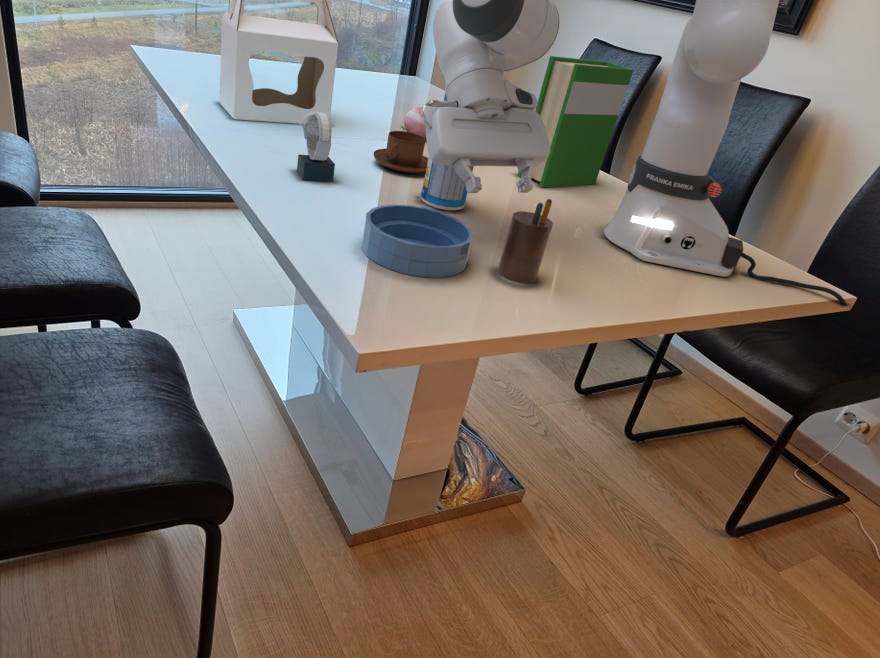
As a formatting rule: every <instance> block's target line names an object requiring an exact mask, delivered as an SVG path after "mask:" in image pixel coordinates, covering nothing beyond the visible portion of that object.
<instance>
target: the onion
mask: <svg viewBox="0 0 880 658" xmlns="http://www.w3.org/2000/svg"><path fill="white" fill-rule="evenodd" d="M423 107H424V106H418V107H414V108H412V109H410V110H409V111H408V112H407V113H406V114H405V115H404V119H403V125H404V126H403V125H401V126H400V128H401V129H403V131H405V132H410V133H414V134H417V135H420V136H422V137H424V138H425V139H426V125H425V123H424V119H423V115H422V109H423Z"/></svg>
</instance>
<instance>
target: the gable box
mask: <svg viewBox="0 0 880 658" xmlns="http://www.w3.org/2000/svg"><path fill="white" fill-rule="evenodd" d="M245 1H246V0H229V1H228V5H227V8H226V10H225V12H224V14H223V16H222V18H221V39H220V40H221V41H220V42H221V43H220V72H219V74H220V76H219V80H220V81H219V104H220V105H221V106H222V107H223V109H224V110H225V111H226V112H227V113H228V114H229V115H230V117H231V118H232V119H233V120H234V121H235V120H236V121H253V122H268V123H281V124H297V125H298V124H299V125H300V122H301V121H302V120H303V118H304V117H305V116H306V115H307V114H309V113H311V112H322V113H327V114H329V116H330V117H331V113H332V111H331V110H332V103H333V96H334V95H333V93H334V85H335V84H334V83H335V77H336V69H337V68H336V67H337V59H338V52H339V51H338V50H339V40H338V37H337V32H336V30H335V26H334V22H333V19H332V0H290V1H292V2H297V3H306V4H310V5H312V6H313V5H315V6H316V10H317V13H316V14H317V15H316V23H309V22H303V21H297V20H295V21H294V20H288V19H281V18H273V17H265V16H258V15H251V14H245ZM259 51H268V52H269V51H270V52H274V53H275V52H276V53H279V54H282V55H284V56H288V57H293V58H303V61H302V64H301V66H300V69H299V71H298V74H297V87H296V91H295V93H292V94H287V93H284V92H282V91H280V90H277V89H275V88H269V87H268V88H266V87H265V88H264V87H261V88H256V89H254V80H253V76H252V72H251V68H250V58H251V56H252V54H254V53H256V52H259Z"/></svg>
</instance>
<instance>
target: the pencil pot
mask: <svg viewBox="0 0 880 658" xmlns="http://www.w3.org/2000/svg"><path fill="white" fill-rule="evenodd" d="M552 204H553V200H552V199H551V198H547V199H546V201H545V203H544V204H543V202H538V203H537V204H536V207H535V210H534V212H531V211H524V210H523V211H521V210H520V211H515V212H513V214H512V216H511V221H510V225H509V227H508V232H507V235H506V238H505V242H504V244H503V245H504V246H503V249H502V253H501V256H500V257H501V258H500V260H499V263H498V267H497V273H498V274H499V275H500V276H501V277H502V278H504V279H506V280H508V281H511V282H515V283H518V284H532V283H534V282H536V280H537V277H538V274H539V271H540V268H541V264H542V261H543V257H544V255H545V252H546V248H547V245H548V242H549V238H550V235H551V233H552V229H553V225H554V223H553V221H552V220H551V219H550V218H548V217H549V215H550V214H549V213H550V210H551V206H552Z"/></svg>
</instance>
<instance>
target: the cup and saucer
mask: <svg viewBox="0 0 880 658" xmlns="http://www.w3.org/2000/svg"><path fill="white" fill-rule="evenodd" d="M387 135H388V136H387V144H386V148H379V149H376V150H374V151H373V158H374V159H375V160H376V162H377V163H379V164H380V165H381V166H383V167H385V168H388V169H391V170H393V171H397V172H400V173H409V174H419V173H424V172H425V173H426V169H427V164H428V158H429V157H427V156H424V150H425V145H426V142H427V140H426V139H425V138H424V137H422V136H420V135H417V134H414V133H410V132H407V131H405V130H403V131H401V130H391V131H389V132H388V134H387Z"/></svg>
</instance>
